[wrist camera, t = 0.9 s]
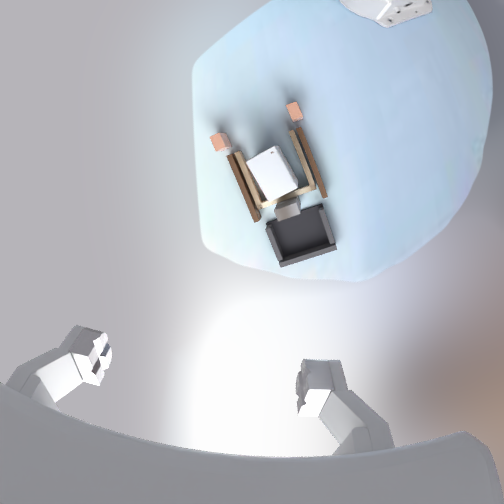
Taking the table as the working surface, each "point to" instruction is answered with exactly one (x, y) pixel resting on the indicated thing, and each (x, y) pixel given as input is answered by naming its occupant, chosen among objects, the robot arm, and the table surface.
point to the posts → (223, 142)
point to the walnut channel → (245, 187)
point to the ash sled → (286, 203)
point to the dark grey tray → (301, 236)
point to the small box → (273, 173)
